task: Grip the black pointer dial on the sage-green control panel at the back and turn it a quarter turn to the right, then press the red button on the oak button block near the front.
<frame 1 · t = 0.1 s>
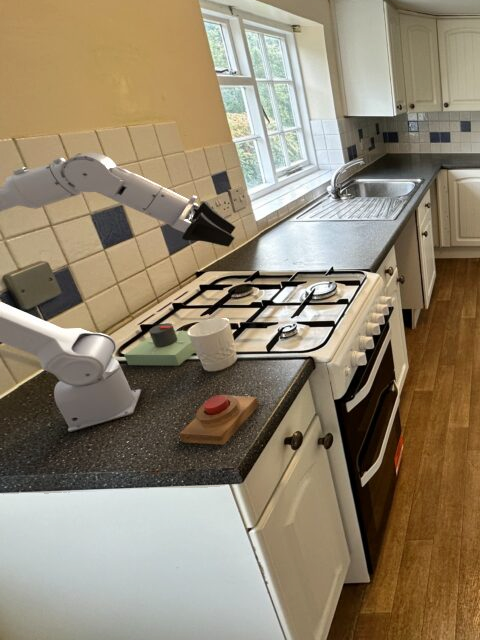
hand: (232, 236, 83), 32 cm above the countertop, tool tilted 50°, fingers open, 7 cm apart
button: (216, 405, 78), point 4 cm above the countertop, slide at 0.1 cm
dial: (163, 334, 98), point 5 cm above the countertop, hinge at 0.0°
button block: (223, 423, 79), on the countertop
dial panel: (170, 352, 100), on the countertop
white cup: (221, 363, 97), on the countertop
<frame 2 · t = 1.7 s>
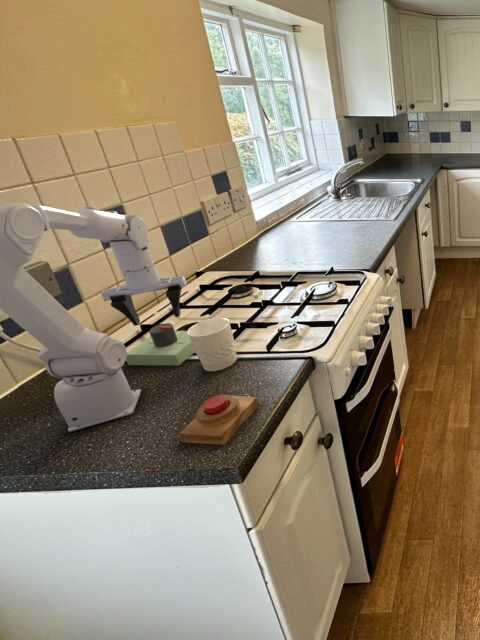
hand: (158, 319, 97), 9 cm above the countertop, tool pointing down, fingers open, 7 cm apart
nothing on the countertop moved.
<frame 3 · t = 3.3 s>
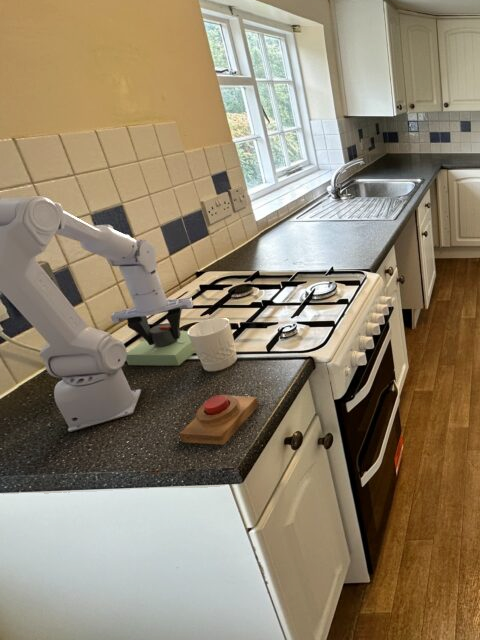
hand: (165, 339, 99), 4 cm above the countertop, tool pointing down, fingers closed on dial, 4 cm apart
dial: (163, 334, 98), point 5 cm above the countertop, hinge at 0.0°, touching gripper
everything else where it was.
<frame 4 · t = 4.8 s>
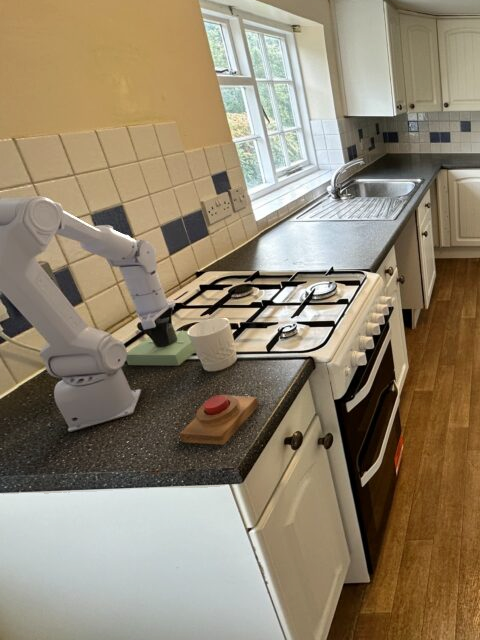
hand: (165, 340, 99), 4 cm above the countertop, tool pointing down, fingers closed on dial, 4 cm apart
dial: (163, 334, 98), point 5 cm above the countertop, hinge at -89.8°, touching gripper
everything else where it was.
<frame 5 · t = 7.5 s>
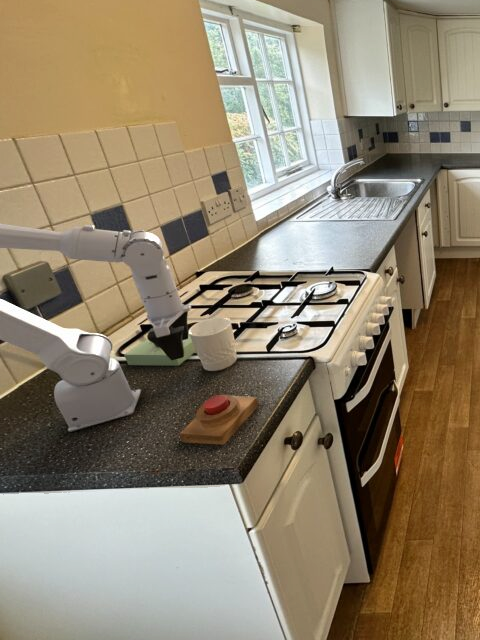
hand: (180, 348, 87), 9 cm above the countertop, tool pointing down, fingers open, 7 cm apart
dial: (163, 334, 98), point 5 cm above the countertop, hinge at -90.1°
white cup: (220, 362, 97), on the countertop, touching gripper
everything else where it was.
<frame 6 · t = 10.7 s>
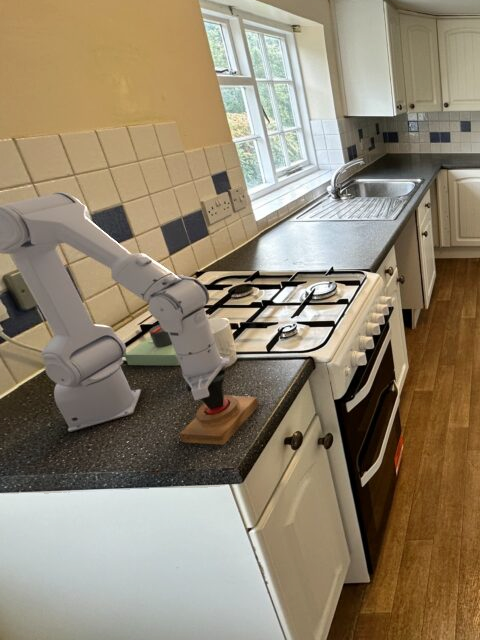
hand: (217, 405, 78), 4 cm above the countertop, tool pointing down, fingers closed, pressing on button
button: (218, 409, 78), point 3 cm above the countertop, slide at -0.9 cm, touching gripper
white cup: (221, 363, 97), on the countertop
everything else where it was.
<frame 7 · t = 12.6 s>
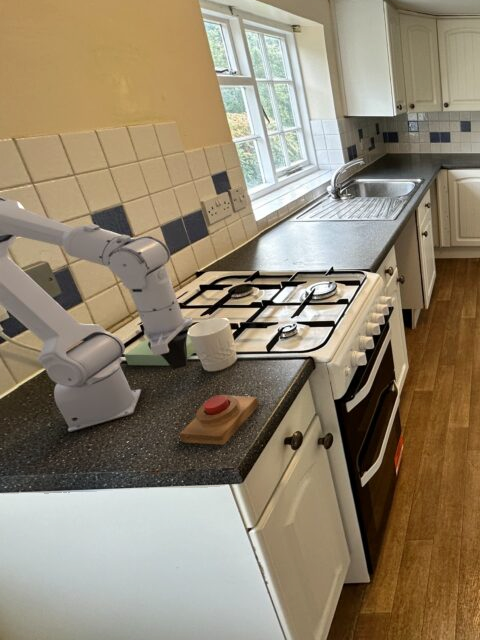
hand: (180, 365, 79), 10 cm above the countertop, tool pointing down, fingers closed
button: (216, 405, 78), point 4 cm above the countertop, slide at 0.1 cm
everything else where it was.
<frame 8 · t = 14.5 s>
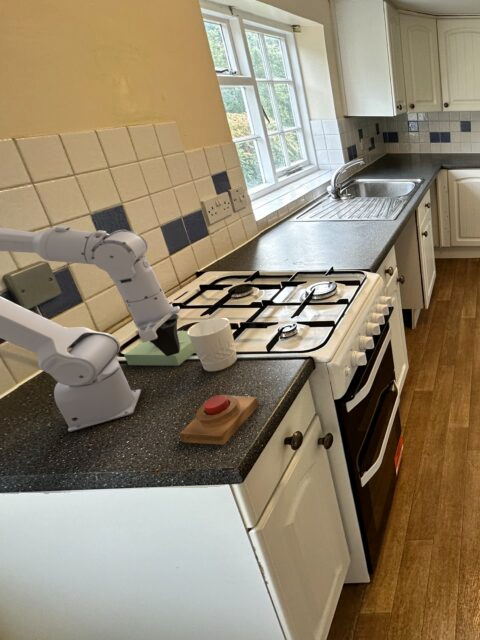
hand: (173, 353, 83), 10 cm above the countertop, tool pointing down, fingers closed
nothing on the countertop moved.
at the end: dial at -90° (first picture: +0°); button pushed in 1.2 cm at the most during the clip, back to where it started at the end; button slide at 0.1 cm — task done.
